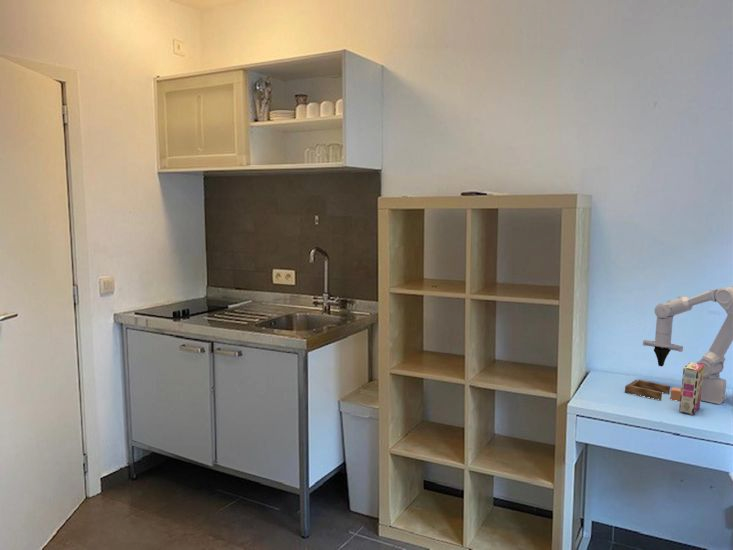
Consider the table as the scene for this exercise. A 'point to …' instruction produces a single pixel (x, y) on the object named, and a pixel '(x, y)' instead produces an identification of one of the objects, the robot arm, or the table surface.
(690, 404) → the candy bar box
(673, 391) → the cube
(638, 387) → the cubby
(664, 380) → the table surface
